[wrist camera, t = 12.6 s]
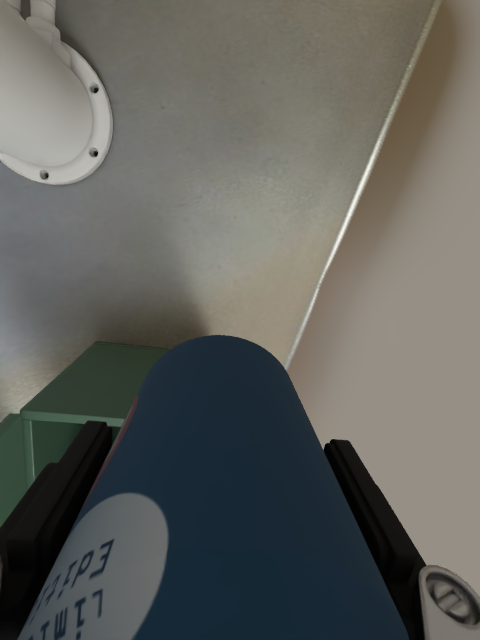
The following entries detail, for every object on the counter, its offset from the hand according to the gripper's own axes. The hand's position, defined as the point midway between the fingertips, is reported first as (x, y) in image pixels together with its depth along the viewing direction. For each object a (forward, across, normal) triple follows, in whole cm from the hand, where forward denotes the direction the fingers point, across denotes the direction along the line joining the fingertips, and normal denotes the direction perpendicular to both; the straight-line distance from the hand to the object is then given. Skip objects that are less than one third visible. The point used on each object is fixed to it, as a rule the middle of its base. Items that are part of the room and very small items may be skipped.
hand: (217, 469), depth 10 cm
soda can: (+5, 0, 0) cm, 5 cm away
